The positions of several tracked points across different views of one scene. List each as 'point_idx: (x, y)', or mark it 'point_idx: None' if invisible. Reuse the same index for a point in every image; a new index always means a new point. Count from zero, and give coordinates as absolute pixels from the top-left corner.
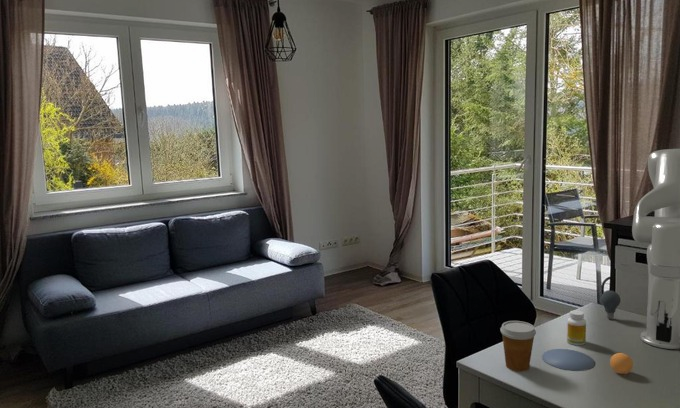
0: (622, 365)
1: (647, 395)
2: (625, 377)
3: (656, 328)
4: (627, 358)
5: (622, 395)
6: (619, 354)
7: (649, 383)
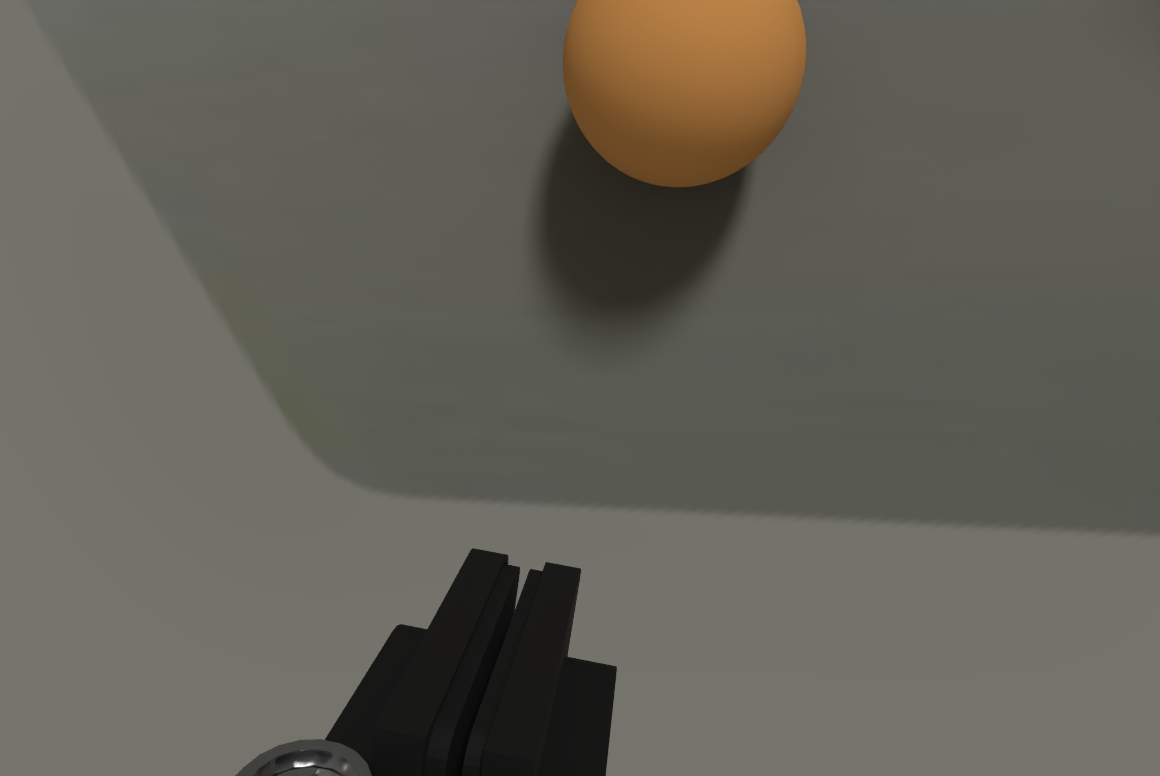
0: (565, 83)
1: (339, 321)
2: None
3: (405, 672)
4: (630, 122)
5: (231, 140)
6: (656, 14)
7: (570, 331)
